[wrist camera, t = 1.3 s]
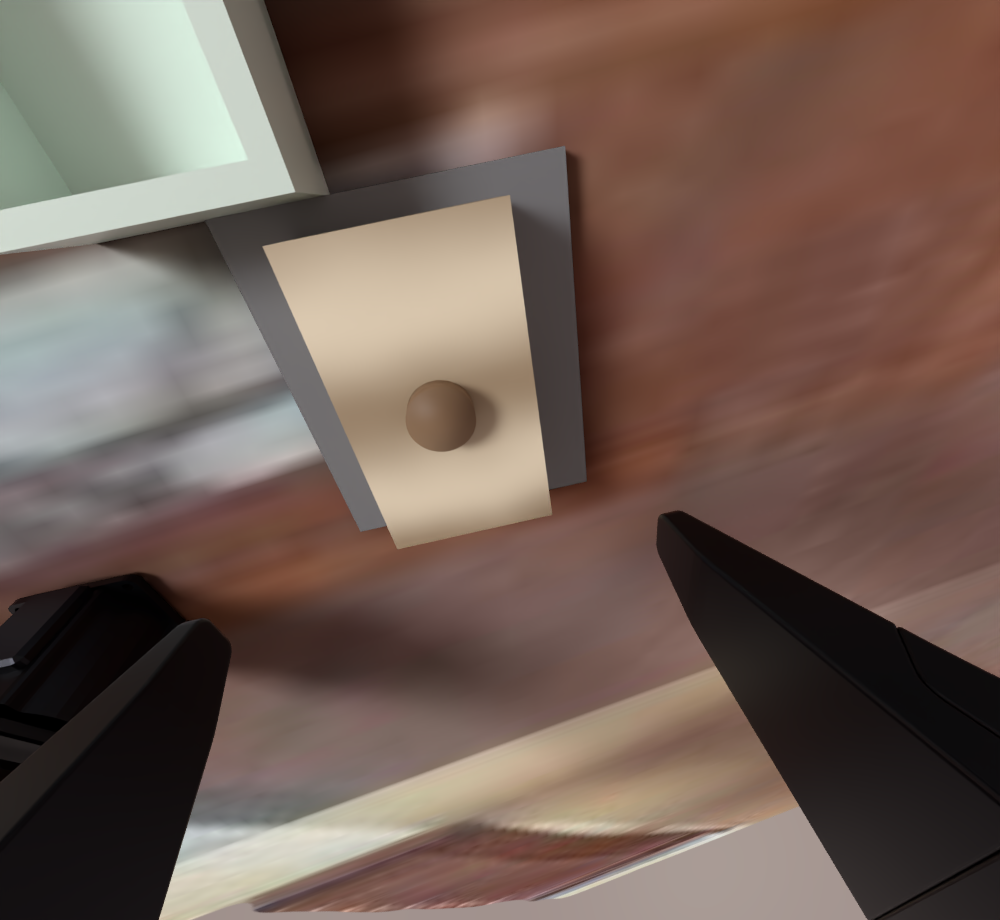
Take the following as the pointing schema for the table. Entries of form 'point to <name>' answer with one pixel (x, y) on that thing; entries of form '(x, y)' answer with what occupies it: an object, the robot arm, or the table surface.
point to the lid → (426, 364)
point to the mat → (523, 177)
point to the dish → (143, 119)
